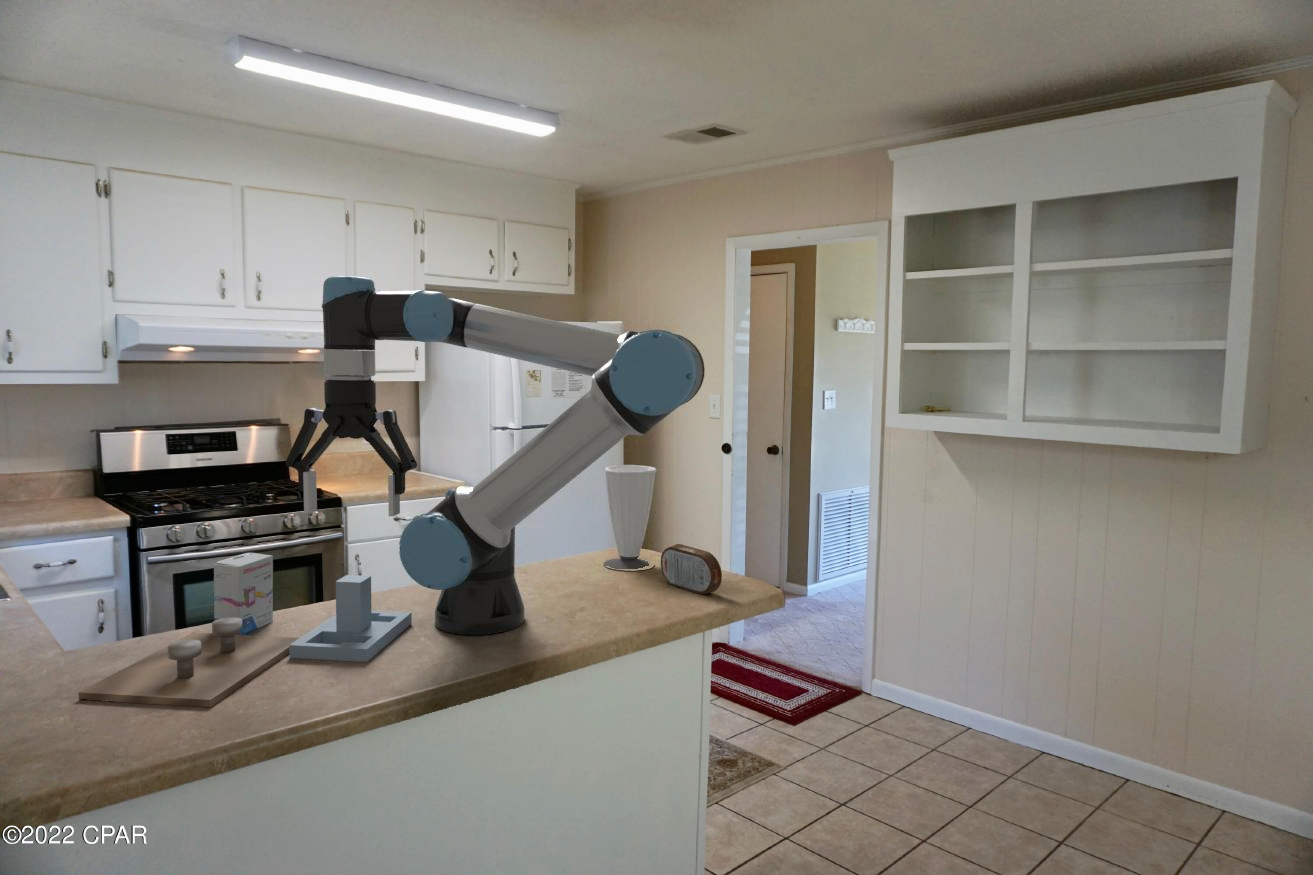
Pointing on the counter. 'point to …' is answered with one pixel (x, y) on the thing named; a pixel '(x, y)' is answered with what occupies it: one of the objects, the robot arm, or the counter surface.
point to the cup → (629, 511)
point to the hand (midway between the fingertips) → (352, 513)
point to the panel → (350, 639)
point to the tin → (691, 569)
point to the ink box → (244, 590)
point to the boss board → (194, 668)
